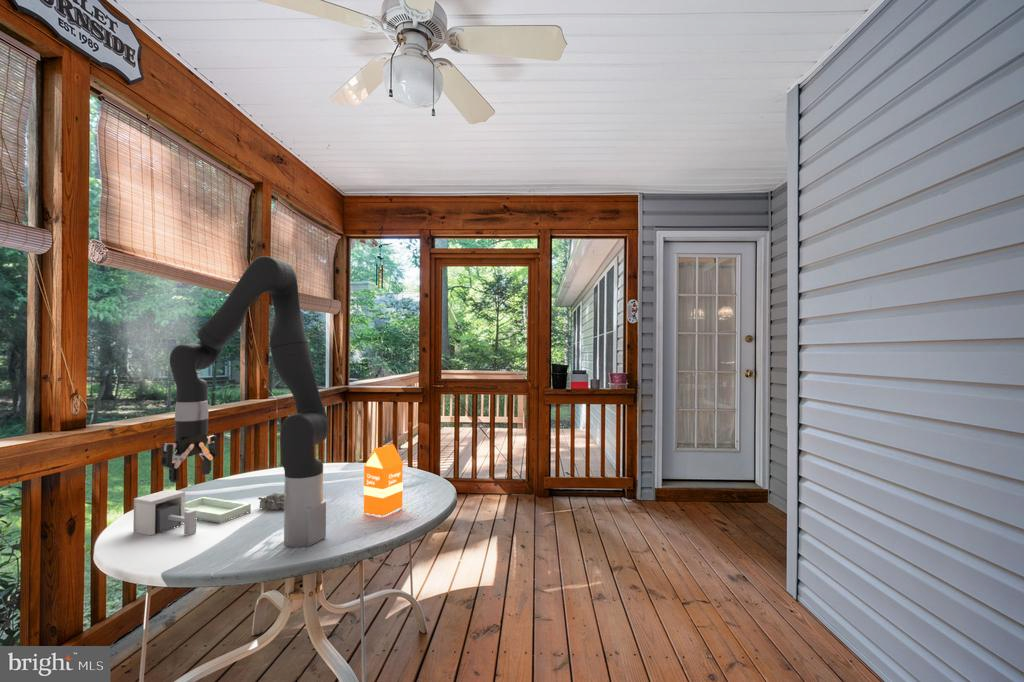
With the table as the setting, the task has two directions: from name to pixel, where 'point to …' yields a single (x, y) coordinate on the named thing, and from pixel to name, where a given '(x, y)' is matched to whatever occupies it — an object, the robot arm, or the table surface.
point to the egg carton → (272, 501)
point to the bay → (146, 509)
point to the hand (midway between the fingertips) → (190, 477)
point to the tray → (216, 509)
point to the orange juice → (383, 481)
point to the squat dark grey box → (173, 518)
